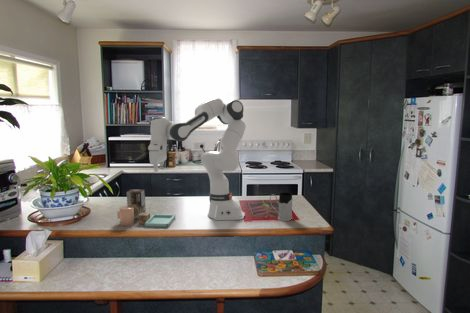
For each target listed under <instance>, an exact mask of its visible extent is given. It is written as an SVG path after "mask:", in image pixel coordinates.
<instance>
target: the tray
mask: <svg viewBox="0 0 470 313" xmlns="http://www.w3.org/2000/svg"><path fill="white" fill-rule="evenodd" d="M174 220H176V214H167V213H166V214H164V213H159V214H158V213H153V214H152V215H150V218H149V219H148V220H147V221H146V222H145V224H144V227H147V228H169V227H170V225H171V224H172V223H173V222H174Z"/></svg>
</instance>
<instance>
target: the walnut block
mask: <svg viewBox="0 0 470 313" xmlns="http://www.w3.org/2000/svg"><path fill="white" fill-rule="evenodd" d="M150 217H151V212H146V213H141V214H139V218H138V224H141V225H145V222H146V221H147V220H148V219H149V218H150Z"/></svg>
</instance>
